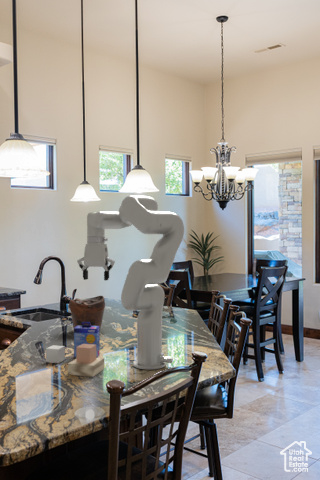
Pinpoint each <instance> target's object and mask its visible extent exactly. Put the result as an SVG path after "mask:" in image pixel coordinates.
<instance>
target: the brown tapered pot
mask: <svg viewBox="0 0 320 480" xmlns="http://www.w3.org/2000/svg"><path fill="white" fill-rule="evenodd" d="M68 308H69V310H70V314H71V320H72V323H73V329H74V328H75V327H76V326H82V322H90V324H91V326H99V332H101V328H102V322H103V317H104V312H105V308H106V302H105V296H103V295H97V296H95V297H92V298H88V299H87V298H86V299H83V300H82V299H80V298H75V299H70V300H69V303H68ZM84 325H89V324H87V323H85V324H84Z"/></svg>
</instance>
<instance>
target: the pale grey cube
mask: <svg viewBox="0 0 320 480" xmlns="http://www.w3.org/2000/svg"><path fill="white" fill-rule="evenodd" d="M65 359H66V346H65V345H54V344H52V345H51V346H49V347H48V346H47V347H46V348H45V362H46V363H53V364H60V363H61V362H63V361H65Z"/></svg>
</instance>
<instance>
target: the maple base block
mask: <svg viewBox="0 0 320 480" xmlns="http://www.w3.org/2000/svg"><path fill="white" fill-rule="evenodd" d="M104 369H105V358H103V357H97V358H96V360H95V361H93V362H92V363H80V362H76V358H75V359H72V360H71V361H70V362H67V375H73V376H80V377H81V376H83V377H95V376H96V375H98V374H100V373H101V372H102V371H103V370H104Z"/></svg>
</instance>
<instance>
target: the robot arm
mask: <svg viewBox="0 0 320 480" xmlns="http://www.w3.org/2000/svg"><path fill="white" fill-rule="evenodd" d="M158 206H159V205H158V202H157V200H155V198H153V197H151V196H149V195H148V196H147V195H133V194H132V195H128V196H126V197H124V198H123V199H122V201H121V205H120V206H119V208H118V211H108V210H105V211H104V210H103V211H97V212H94V211H93V212H92V211H91V212H88V213H87V215H86V225H87V226H86V227H87V228H86V229H87V230H86V232H87V233H86V238H87V239H86V241H87V242H86V243H85V247H84V253H83V257H81V258H79V259H77V264H78V266H79V268H80V269H81V271H82V278H83V280H85V281H86V280H89V270H88V269H89V267H91V268H92V267H94V268H95V267H96V268H98V267H99V268H100V267H101V268H103V269H104V271H103V276H104V277H103V280H104V281H109V279H110V272H111V270H112V268H113V267H114V265H115V263H116V260H113V259H112V258H110V257H109V251H108V245H107V243H106V242H108V237H106V236H105V230H120V229H125V228H128V227H132V226H134V227H135V228H136V229H137V230H138V231H139V232H140V233H142V234H144V235H162V236H161V238H160V239H158V241H157V242H156V243H155V245H154V247H153V250H152V253H151V255H150V257H149V258H143V259H137V260H135V261H134V262H133V263H132V264H131V265H130V267H129V268H128V271H127V275H126V277H125V280H124V283H123V287H122V290H121V296H120V301H121V305H122V306H123V308H124V310H127V311H131V312H132V311H133V312H134V311H139V312H138V315H137V321H136V340H137V341H136V349H137V350H136V351H137V352H136V355H137V357H136V360H134V361H133V363H132V366H133V367H134V368H136V369H140V370H149V371H150V370H151V371H152V370H159V369H162V368H165V367H166V365H167V364H172V363H173V357H171V356H166V355H165V353H164V352H162V351H163V344H162V343H163V340H162V339H163V336H162V334H163V309H164V308H163V307H164V304H165V297H166V296H165V294H166V293H165V290H164V288H163V287H162V286H161V285H160V284H163V283H165V282H166V281H167V279H168V278H169V274H170V273H171V269H172V266H173V263H174V261H175V258H176V256H177V252H178V250H179V248H180V245H181V243H182V241H183V239H184V234H185V224H184V221H183V219H182V218H181V217H180V215H179V214H177V213H175V212H172V211H165V210H163V211H162V210H161V211H160V210H158V209H159V207H158ZM82 262H83V263H82Z"/></svg>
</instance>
